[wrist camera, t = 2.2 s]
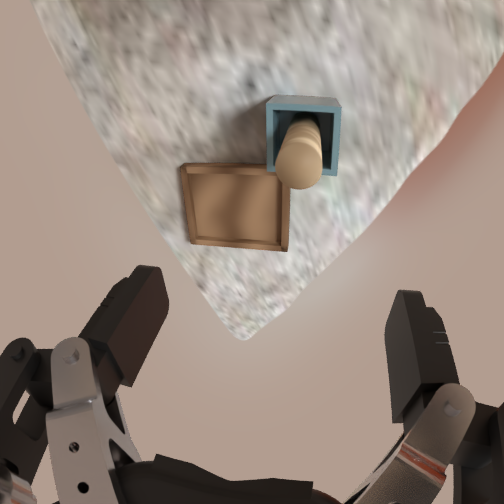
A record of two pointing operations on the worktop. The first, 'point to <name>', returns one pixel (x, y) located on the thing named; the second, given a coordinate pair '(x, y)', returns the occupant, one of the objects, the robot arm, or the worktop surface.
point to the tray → (236, 206)
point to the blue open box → (281, 115)
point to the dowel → (300, 153)
